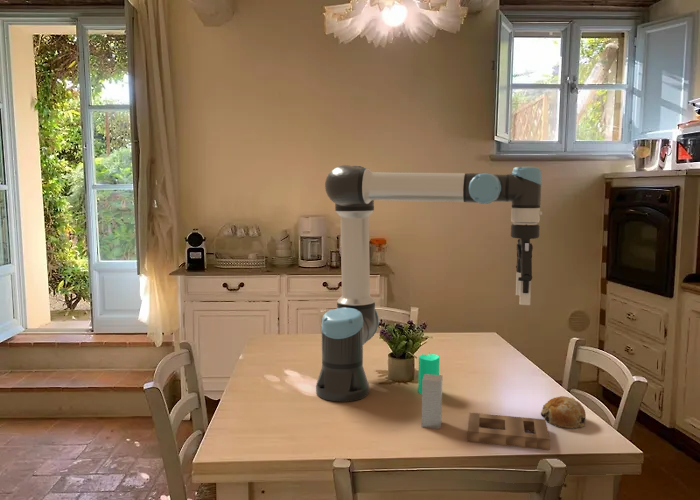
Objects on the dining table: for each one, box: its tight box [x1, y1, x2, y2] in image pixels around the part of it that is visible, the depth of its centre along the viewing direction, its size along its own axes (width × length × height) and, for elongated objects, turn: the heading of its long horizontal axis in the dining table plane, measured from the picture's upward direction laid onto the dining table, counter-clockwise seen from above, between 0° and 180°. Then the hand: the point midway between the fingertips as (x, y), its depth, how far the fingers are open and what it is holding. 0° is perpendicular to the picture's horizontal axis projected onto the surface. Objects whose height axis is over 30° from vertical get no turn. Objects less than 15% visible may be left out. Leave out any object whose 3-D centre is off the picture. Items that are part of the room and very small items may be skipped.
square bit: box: [421, 374, 443, 430], centre depth 139 cm, size 4×4×12 cm
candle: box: [417, 353, 440, 395], centre depth 161 cm, size 6×6×12 cm
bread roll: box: [540, 395, 587, 429], centre depth 142 cm, size 10×10×8 cm
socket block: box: [467, 412, 551, 451], centre depth 134 cm, size 18×11×2 cm, turn 76°
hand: (522, 299), depth 157 cm, fingers open, 13 cm apart
